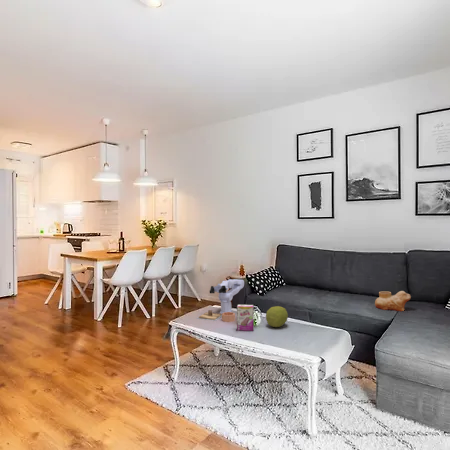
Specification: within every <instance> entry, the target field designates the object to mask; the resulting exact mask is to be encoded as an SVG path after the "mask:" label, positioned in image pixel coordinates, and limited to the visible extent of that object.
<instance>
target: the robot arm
mask: <svg viewBox="0 0 450 450" xmlns="http://www.w3.org/2000/svg"><path fill="white" fill-rule="evenodd" d="M244 286H245V281H244V279H236V278H235V279H234V278H233V279H232V278H229V279H227V280H222V282H221V283H217V285H216V286H214V285H211V286H210V288H209V294H215V293H218V300H219V302H220V311H219V312H218V314H222V313H224V312H233V309H232V302H231V301H232V300H233V297H234V296H235V295H237V294H238V293H239V292H240V291H241V290H242V289H243V288H244Z"/></svg>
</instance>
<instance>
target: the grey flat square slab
mask: <svg viewBox="0 0 450 450" xmlns="http://www.w3.org/2000/svg"><path fill="white" fill-rule="evenodd" d="M220 318H222V315H221V316H220V317H218V318H217V319H215V320H212V321H213V322H214V321H215V322H216V321H218V320H219V319H220ZM195 319H196V320H197V319H198V320H204V321H206V320H207V321H211V320H210V319H202V318H199V316H198V317H196V318H195Z"/></svg>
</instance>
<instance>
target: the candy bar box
mask: <svg viewBox="0 0 450 450" xmlns="http://www.w3.org/2000/svg"><path fill="white" fill-rule="evenodd" d="M254 310H255V307H254V304H237V306H236V331H238V332H239V331H240V332H241V331H243V332H244V331H247V332H254V328H255V327H254V325H255V324H254V322H255V321H254V320H255V319H254V317H255V316H254V313H255V311H254Z"/></svg>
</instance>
